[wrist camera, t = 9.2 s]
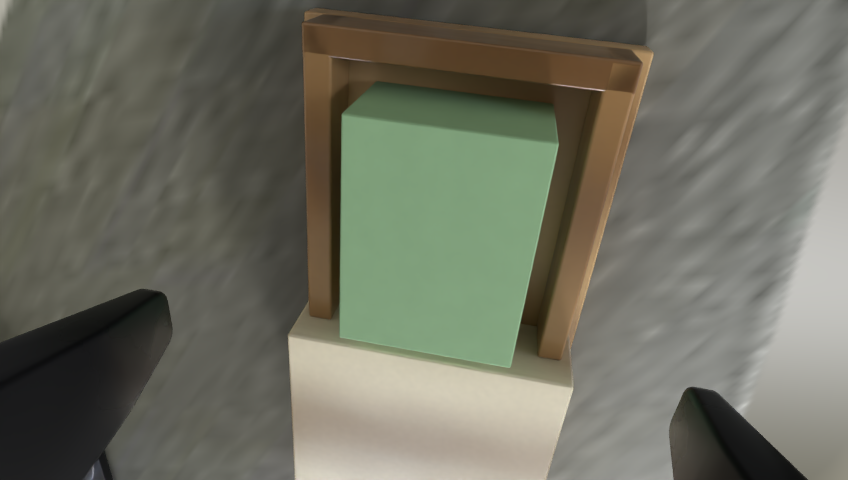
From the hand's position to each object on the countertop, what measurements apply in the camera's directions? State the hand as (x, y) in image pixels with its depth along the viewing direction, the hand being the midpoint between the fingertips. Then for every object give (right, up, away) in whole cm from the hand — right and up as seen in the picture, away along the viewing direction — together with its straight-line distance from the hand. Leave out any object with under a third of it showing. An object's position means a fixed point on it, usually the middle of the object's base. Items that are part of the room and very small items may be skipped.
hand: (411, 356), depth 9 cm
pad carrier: (+1, 0, +8) cm, 8 cm away
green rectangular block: (+1, +3, +6) cm, 7 cm away
